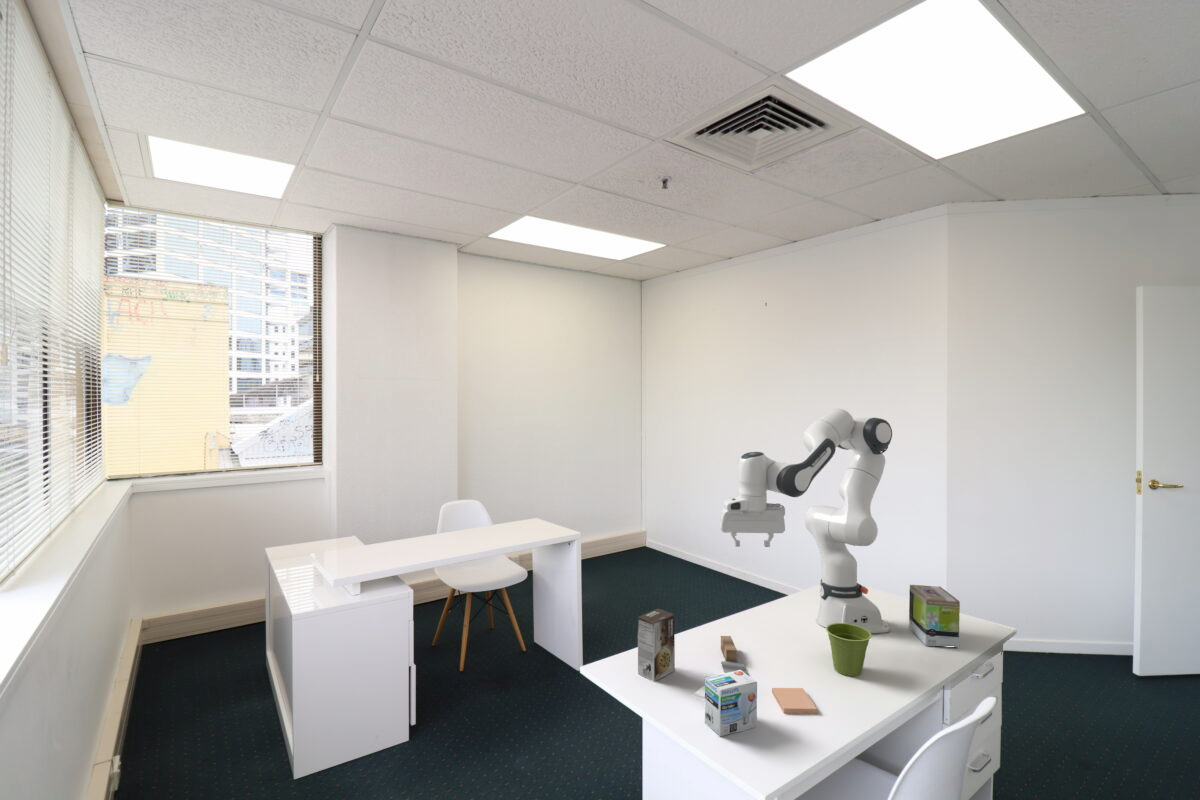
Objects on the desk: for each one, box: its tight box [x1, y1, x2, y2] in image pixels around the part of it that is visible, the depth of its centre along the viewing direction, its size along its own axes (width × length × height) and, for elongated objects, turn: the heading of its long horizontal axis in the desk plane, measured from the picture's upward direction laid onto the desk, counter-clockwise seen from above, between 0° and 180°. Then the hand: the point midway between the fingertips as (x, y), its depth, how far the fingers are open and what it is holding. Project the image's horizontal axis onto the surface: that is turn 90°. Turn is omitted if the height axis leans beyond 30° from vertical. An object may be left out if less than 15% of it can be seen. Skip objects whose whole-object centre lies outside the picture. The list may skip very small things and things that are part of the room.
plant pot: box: [825, 623, 873, 677], centre depth 164 cm, size 12×12×11 cm
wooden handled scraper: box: [720, 635, 748, 675], centre depth 169 cm, size 17×6×4 cm, turn 178°
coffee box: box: [637, 608, 676, 682], centre depth 162 cm, size 9×6×16 cm
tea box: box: [908, 584, 961, 648], centre depth 186 cm, size 15×10×15 cm
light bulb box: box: [704, 670, 758, 737], centre depth 137 cm, size 11×7×11 cm, turn 114°
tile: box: [771, 687, 818, 715], centre depth 147 cm, size 8×2×10 cm
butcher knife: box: [693, 671, 724, 700], centre depth 155 cm, size 5×15×1 cm, turn 139°
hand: (752, 546), depth 186 cm, fingers open, 8 cm apart
